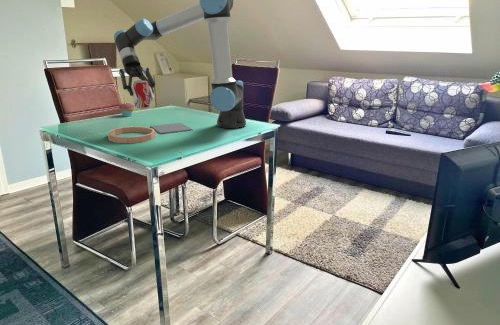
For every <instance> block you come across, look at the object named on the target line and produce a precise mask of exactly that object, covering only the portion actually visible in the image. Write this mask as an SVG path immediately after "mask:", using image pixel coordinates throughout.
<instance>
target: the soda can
mask: <svg viewBox="0 0 500 325" xmlns="http://www.w3.org/2000/svg"><path fill="white" fill-rule="evenodd" d="M132 87H134V90H135V93H136V96H137V99H138V100H137V103H135V102H134V101H133V102H134V103H133V105H134V108H137V109H140V110H144V109H145V110H146V109H149V108H150V107H151V98H150V90H149V84H148V83H147V81H146V80H141V79H139V80H134V82H133V83H132Z"/></svg>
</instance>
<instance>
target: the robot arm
mask: <svg viewBox="0 0 500 325" xmlns="http://www.w3.org/2000/svg"><path fill="white" fill-rule="evenodd" d="M233 5H234V0H199V3H197V4H193V5H191V6H189V7H186V8H184V9H182V10H179V11H177V12H174V13H172V14H169V15H168V16H164V17H162V18H160V19H158V20H155V21H153V22H150V21H149V20H148V19H146V18H145V17H144V18H140V19H139V20H138V21H136V22H135V23H134V24H133V25H132V26H130V27H129V28H128V29H127V30H125V29H120V30H117V31H116V32H115V33H114V35H113V40H114V44H115V46H116V49H117V51H118V55H119V57H120V60H121V62H122V63H121V64H122V65H123V68H119V72H118V74H119V76H120V79H121V83H122V89H123V90H124V91H125V90H127V92H128V93H129V95H130V96H131V97H132V98H133V102H135V103H137V100H138V99H137V96H136V93H135V90H134V87H133V78H138V79H139V80H146V81H147V83H148V84H149V90H150V102H154V100H155V95H154V94H155V90H154V89H155V87H156V82H155V80H154V79H153V75H151V73H150V68H149V67H146V68H143V67H142V66H141V62H140V60H139V57H138V56H139V55H138V54H137V52H136V49H135V47H136V46H137V45H138V44H140V43H141V42H143V41H155V40H156V41H157V40H159V39H160V38H161V37H163V36H165V35H168V34H171V33H173V32H176V31H178V30H181V29H183V28H186V27H188V26H189V27H190V26H191V25H193V24H196V23H199V22H201V21H205V22H206V24H208V25H207V26H208V33H209V34H208V35H209V43H210V44H209V45H210V53H211V62H212V63H211V64H212V71H213V72H212V73H213V79H212V81H211V82H210V83H211V84H210V85H211V92H210V96H209V101H210V104H211V105H212V107H213V108H214V109H215V110H217V111H219V114H218V116H217V119H216V126H217V127H219V128H221V127H222V128H223V129H229V128H235V129H240V128H239V127H243V126H245V125H246V126H247V120H246V117H245V113H244V82H243V81H242V80H236V79H235V78H234V77H233V69H232V58H231V46H230V37H229V27H228V26H229V23H228V22H229V21H230V19H231V11H232V9H233V7H234V6H233ZM125 74H127V75H128V82H127V79H126V75H125ZM127 84H128V85H127ZM246 126H245V127H246ZM243 128H244V127H243Z"/></svg>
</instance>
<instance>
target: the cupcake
mask: <svg viewBox="0 0 500 325" xmlns="http://www.w3.org/2000/svg"><path fill="white" fill-rule="evenodd" d="M122 100H123V103H121V104H119V105H118V110H119V111H120V113H121V115H122V117H126V118H127V117H131V116H132V114H133V112H134V110H135V105H134V104H131V103H128V102H126V100H125V96H124V94H123V96H122Z"/></svg>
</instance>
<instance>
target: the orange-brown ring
mask: <svg viewBox="0 0 500 325" xmlns="http://www.w3.org/2000/svg"><path fill="white" fill-rule="evenodd" d="M129 133H142V134H143V133H145V134H143V135H137V136H119V135H120V134H129ZM117 135H118V136H117ZM155 138H156V131H155V130H154V129H153V128H151V127H148V126H137V125H136V126H123V127H119V128H118V127H117V128H112V129H111V130H109V131H107V139H108V141H109V142H113V143H116V144H135V143H143V142H144V143H145V142H148V141H151V140H153V139H155Z"/></svg>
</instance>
